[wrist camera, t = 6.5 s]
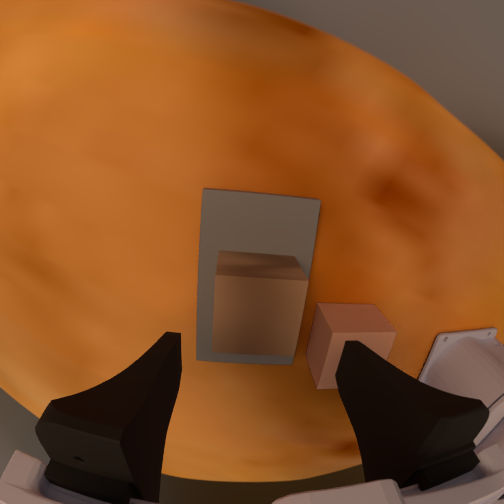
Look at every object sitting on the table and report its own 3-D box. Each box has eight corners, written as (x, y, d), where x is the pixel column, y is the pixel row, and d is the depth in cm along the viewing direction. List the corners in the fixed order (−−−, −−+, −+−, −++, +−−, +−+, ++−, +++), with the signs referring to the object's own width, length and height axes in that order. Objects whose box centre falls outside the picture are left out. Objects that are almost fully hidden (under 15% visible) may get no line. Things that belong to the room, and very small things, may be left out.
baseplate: (317, 198, 19) (321, 200, 18) (290, 358, 22) (292, 364, 21) (204, 187, 18) (202, 189, 17) (197, 353, 22) (196, 360, 21)
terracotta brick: (373, 304, 21) (397, 331, 17) (358, 354, 23) (376, 385, 19) (316, 302, 21) (333, 332, 17) (305, 355, 22) (316, 389, 18)
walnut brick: (294, 255, 19) (308, 281, 15) (284, 320, 20) (294, 355, 16) (219, 250, 18) (215, 274, 15) (215, 316, 20) (211, 352, 16)
